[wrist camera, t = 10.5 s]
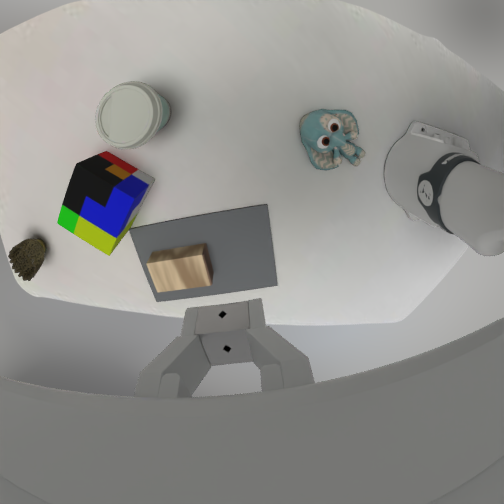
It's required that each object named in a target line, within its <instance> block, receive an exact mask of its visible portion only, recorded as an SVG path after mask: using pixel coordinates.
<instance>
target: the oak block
mask: <svg viewBox="0 0 504 504" xmlns="http://www.w3.org/2000/svg"><path fill="white" fill-rule="evenodd" d="M146 264H147V267H148V269H149V272H150V275H151V277H152V280H153V282H154V285H155V287H156V290H157V292H166V291H174V290H181V289H189V288H196V287H204V286H211V285H212V283H213V274H214V272H213V268H212V264H211V260H210V256H209V252H208V248H207V244H206V243H203V244H197V245H191V246H185V247H179V248H173V249H167V250H161V251H155V252H152V254H151V256H150V257H149V259H148V261H147V263H146Z"/></svg>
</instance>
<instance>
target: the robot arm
mask: <svg viewBox="0 0 504 504" xmlns="http://www.w3.org/2000/svg"><path fill="white" fill-rule="evenodd" d="M421 128H422V129H423V130H422V131H421ZM384 177H385V184H386V188H387V191H388V193H389V195H390V197H391V198H392V199H393V200H394V202H396V203H397V204H398V205H399V206H401V207H402V208H403V209H404V210H405V212H406V213H407V215H408V217H409V218H410V219H412V220H414V221H416V220H419V219H420V220H422V221H424V222H425V223H427V224H429V225H430V226H432V227H437V226H438V227H440V228H441V229H443V230H444V231H447V232H448V233H451V234H455V235H456V236H457V237H459V238H460V239H461V240H462V241H464V242H465V243H466V244H467V245H468V246H470V247H471V248H472V249H473V250H475V251H476V252H477V253H478V254H480V255H483V256H495V255H499V254H501V253H503V252H504V173H502V172H499V171H496V170H493V169H490V168H488V167H485V166H483V165H480V163H479V159H478V156H477V154H476V153H475V152H472V151H471V150H470V146H469V143H468V141H467V140H466V139H465V138H462V137H460V136H458V135H455V134H452V133H450V132H447V131H444V130H442V129H439V128H436V127H433V126H430V125H427V124H424V123H421V122H417V121H414V122H412V123H411V125H410V126H409V128H408V130H407V132H406V134H405V135H404V136H403V137H402V138H401V139H399V140H398V141H397V142H396V143H395V144H394V146H393V147H392V149H391V150H390V152H389V154H388V157H387V160H386V164H385V171H384ZM242 362H254V364H255V365H256V366H257V367H258V368H259V369H260V372H261V387H262V392H255V393H245V394H235V395H223V396H208V397H192V394H193V393H194V391H195V390H196V388H197V387H198V386H199V384H200V383H201V381H202V380H203V378H204V377H205V375H206V374H207V372H208V371H209V369H210V368H211V366H215V365H224V364H232V363H242ZM0 504H504V318H502V319H499V320H497V321H495V322H493V323H491V324H489V325H487V326H486V327H483V328H481V329H479V330H477V331H475V332H473V333H471V334H468V335H466V336H464V337H462V338H459V339H457V340H455V341H452V342H450V343H448V344H445V345H443V346H440V347H438V348H435V349H432V350H430V351H427V352H424V353H422V354H419V355H416V356H413V357H411V358H407V359H404V360H402V361H399V362H395V363H392V364H389V365H385V366H382V367H379V368H375V369H372V370H368V371H364V372H361V373H357V374H353V375H349V376H345V377H340V378H336V379H332V380H328V381H322V382H317V383H315V382H314V378H313V375H312V370H311V366H310V362H309V358H308V357H307V356H306V355H304V354H303V353H302V352H301V351H299V350H298V349H297V348H296V347H294V346H293V345H292V344H291V343H289V342H288V341H287V340H285V339H284V338H283V337H282V336H281V335H279V334H278V333H277V332H276V331H274V330H273V329H272V328H271V327H269V326H266V323H265V317H264V310H263V304H262V299H261V298H259V299H253V300H249V301H243V302H236V303H229V304H220V305H211V306H201V307H193V308H187V309H186V312H185V316H184V321H183V326H182V331H181V336H180V337H176V338H175V339H174V340H173V341H172V342H171V343H170V344H169V345H168V346H167V347H166V348H165V349H164V350H163V351H162V352H161V353H160V354H159V355H158V356H157V357H156V358H155V359H154V360H153V361H152V362H151V363H150V364H149V365H148V366H147V367H145V368H144V369H143V370H142V371H141V373H140V374H139V378H138V382H137V385H136V389H135V393H134V397H124V396H110V395H98V394H89V393H80V392H73V391H67V390H60V389H53V388H48V387H43V386H38V385H33V384H28V383H24V382H20V381H15V380H11V379H8V378H4V377H1V376H0Z"/></svg>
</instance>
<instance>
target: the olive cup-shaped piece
mask: <svg viewBox="0 0 504 504" xmlns="http://www.w3.org/2000/svg"><path fill="white" fill-rule="evenodd" d="M45 251H46V246H45V243H44V242H43V241H42V240H41V239H26V240H24V241H22V242H21V243H19V244H18V245H16V246H14V247H13V249H12V250H11V251H10V252H9V253H10V254H9V256H8V257H9V258H10V259H11V260H10V263H13V266H12V269H15V273H19V272H20V273H19V275H18V276H19V277H21V276H23V280H24V281H25V280H28V281H30V280H31V279H32V278H34V276H35V274H36V273H37V272H38V270H39V269H40V267H41V265H42V263H43V261H44V253H45Z"/></svg>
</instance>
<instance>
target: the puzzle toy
mask: <svg viewBox="0 0 504 504" xmlns="http://www.w3.org/2000/svg"><path fill="white" fill-rule="evenodd" d="M154 181H155V179H154V178H152V177H150V176H149V175H147V174H145V173H143V172H142V171H140V170H138V169H137V168H135V167H133V166H131V165H130V164H128V163H126V162H125V161H123V160H121V159H119V158H118V157H116V156H114V155H113V154H111V153H109V152H107V151H105V152H103V153H100V154H98V155H95V156H93V157H91V158H88V159H86V160H84V161H81V162H79V163H77V164H76V166H75V168H74V171H73V174H72V177H71V179H70V182H69V185H68V188H67V191H66V194H65V198H64V201H63V204H62V207H61V211H60V214H59V218H58V222H57V223H58V224H59V225H61V226H62V227H64V228H65V229H67V230H68V231H70V232H71V233H73V234H75V235H76V236H78V237H79V238H81V239H82V240H84V241H86V242H87V243H89V244H90V245H92V246H94V247H95V248H97V249H99V250H100V251H102V252H104V253H105V254H107V255H109V256H110V254H111V253H112V252H113V250H114V249H115V247H116V246H117V245H118V243H119V242H120V241H121V239H122V238H123V237H124V236H125V234H126V233H127V232H128V230H129V229H130V228H131V226H132V224H133V222H134V220H135V218H136V215H137V213H138V211H139V209H140V207H141V205H142V204H143V202H144V200H145V198H146V196H147V194H148V192H149V190H150V188H151V186H152V185H153V183H154Z"/></svg>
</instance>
